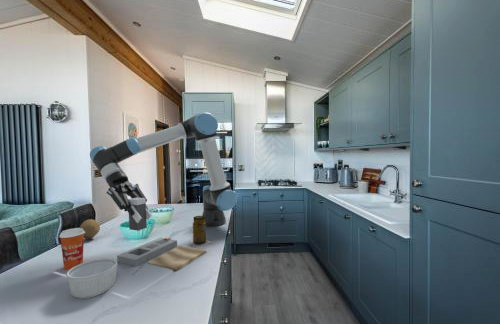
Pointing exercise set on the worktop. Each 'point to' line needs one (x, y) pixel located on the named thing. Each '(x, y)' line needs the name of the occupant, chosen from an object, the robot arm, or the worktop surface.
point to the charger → (141, 209)
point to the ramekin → (92, 277)
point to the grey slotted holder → (146, 251)
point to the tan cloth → (177, 257)
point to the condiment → (199, 231)
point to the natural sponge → (90, 228)
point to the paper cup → (72, 247)
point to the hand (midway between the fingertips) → (144, 219)
